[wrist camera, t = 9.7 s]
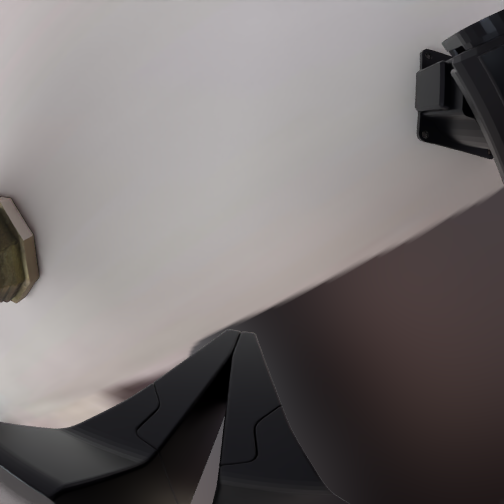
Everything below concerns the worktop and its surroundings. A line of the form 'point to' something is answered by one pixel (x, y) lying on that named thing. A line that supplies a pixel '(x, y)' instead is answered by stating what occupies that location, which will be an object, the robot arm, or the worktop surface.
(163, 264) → the worktop surface
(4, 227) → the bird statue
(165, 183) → the worktop surface
